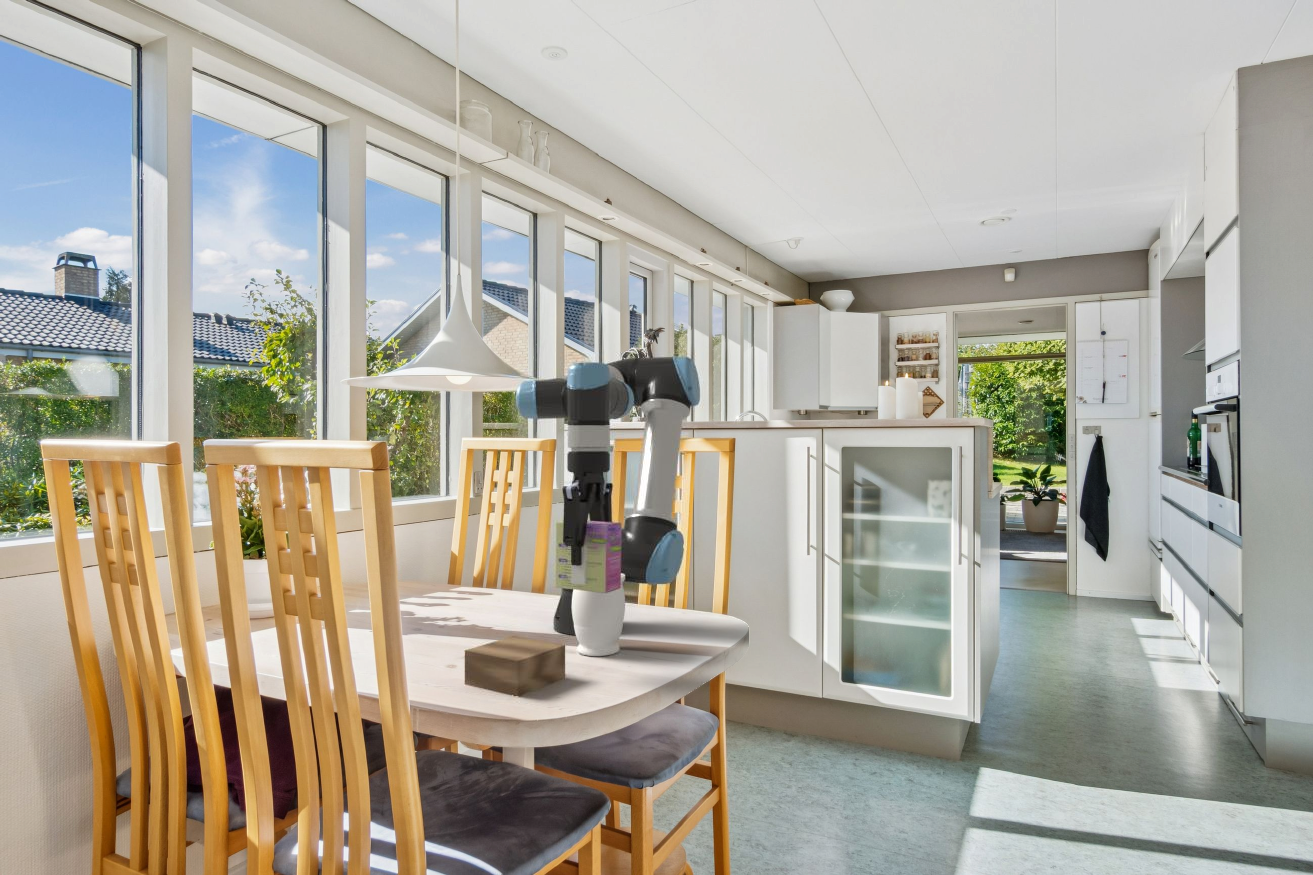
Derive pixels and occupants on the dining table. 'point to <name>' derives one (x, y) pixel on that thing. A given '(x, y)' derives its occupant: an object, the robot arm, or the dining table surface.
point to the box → (592, 558)
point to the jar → (598, 620)
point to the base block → (514, 665)
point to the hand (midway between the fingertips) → (588, 580)
